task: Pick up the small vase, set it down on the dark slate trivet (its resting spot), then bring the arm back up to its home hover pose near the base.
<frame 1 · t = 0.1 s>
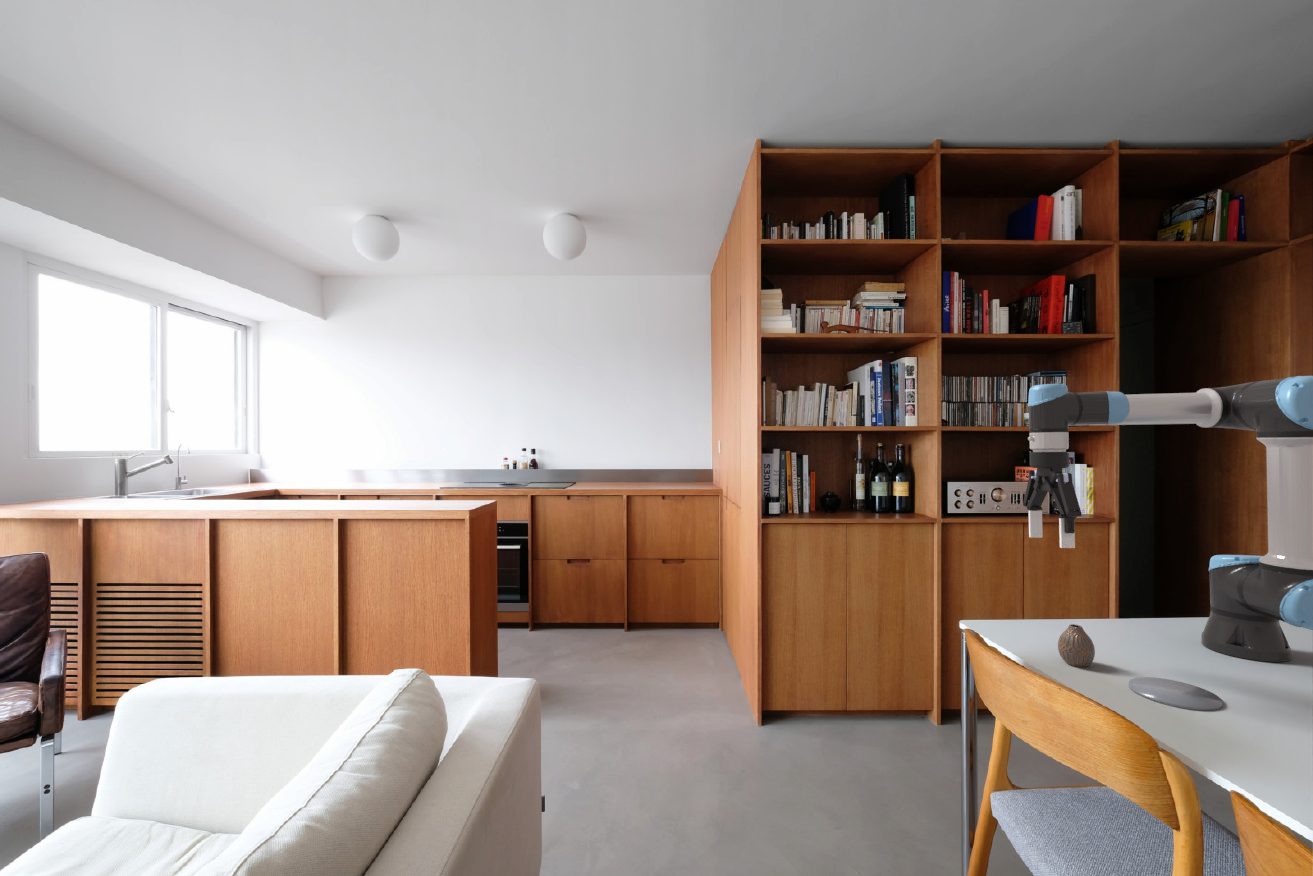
hand: (1050, 542, 132), 28 cm above the table, fingers open, 13 cm apart
trivet: (1173, 694, 115), on the table
vase: (1076, 664, 132), on the table
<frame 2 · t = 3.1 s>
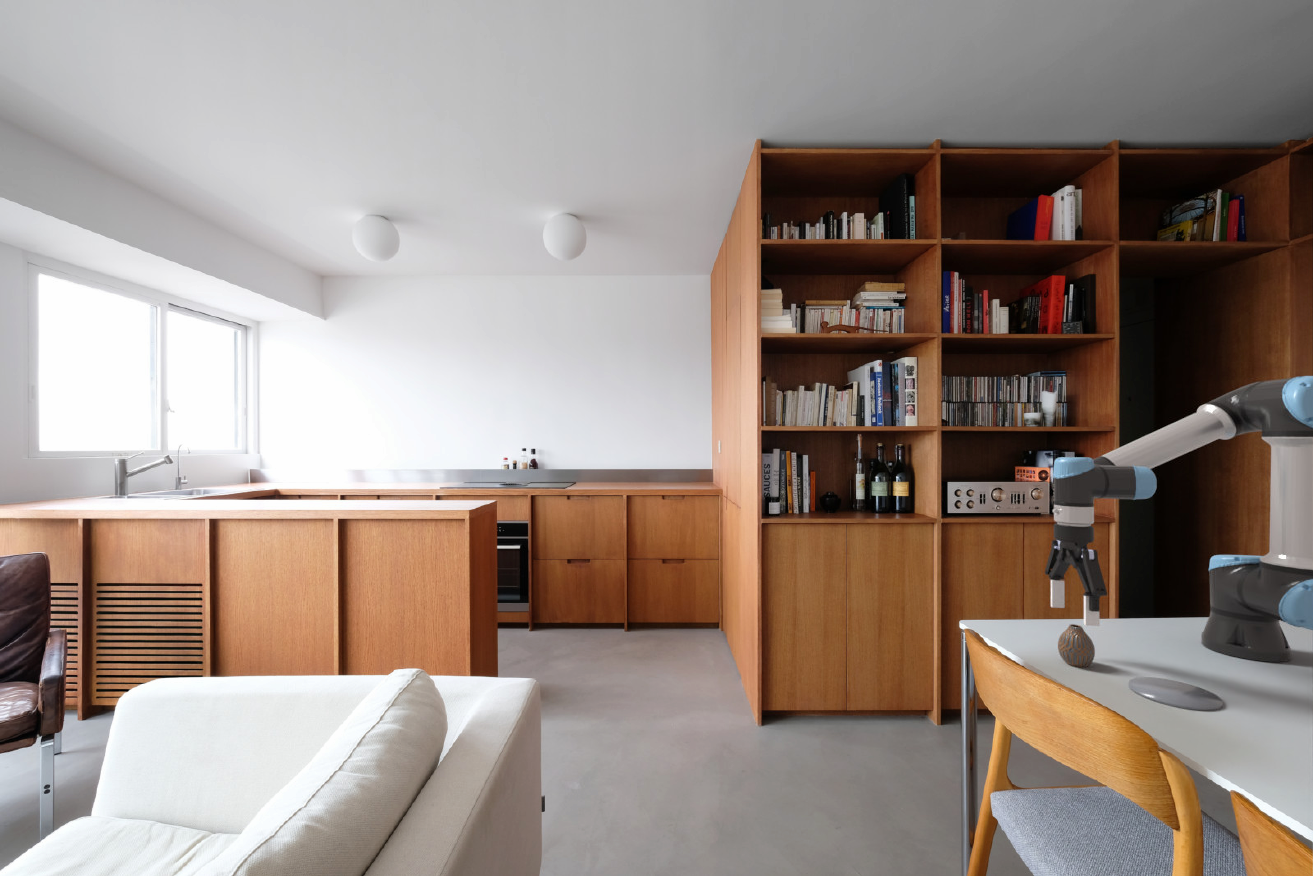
hand: (1073, 616, 132), 11 cm above the table, fingers open, 13 cm apart
nothing on the table moved.
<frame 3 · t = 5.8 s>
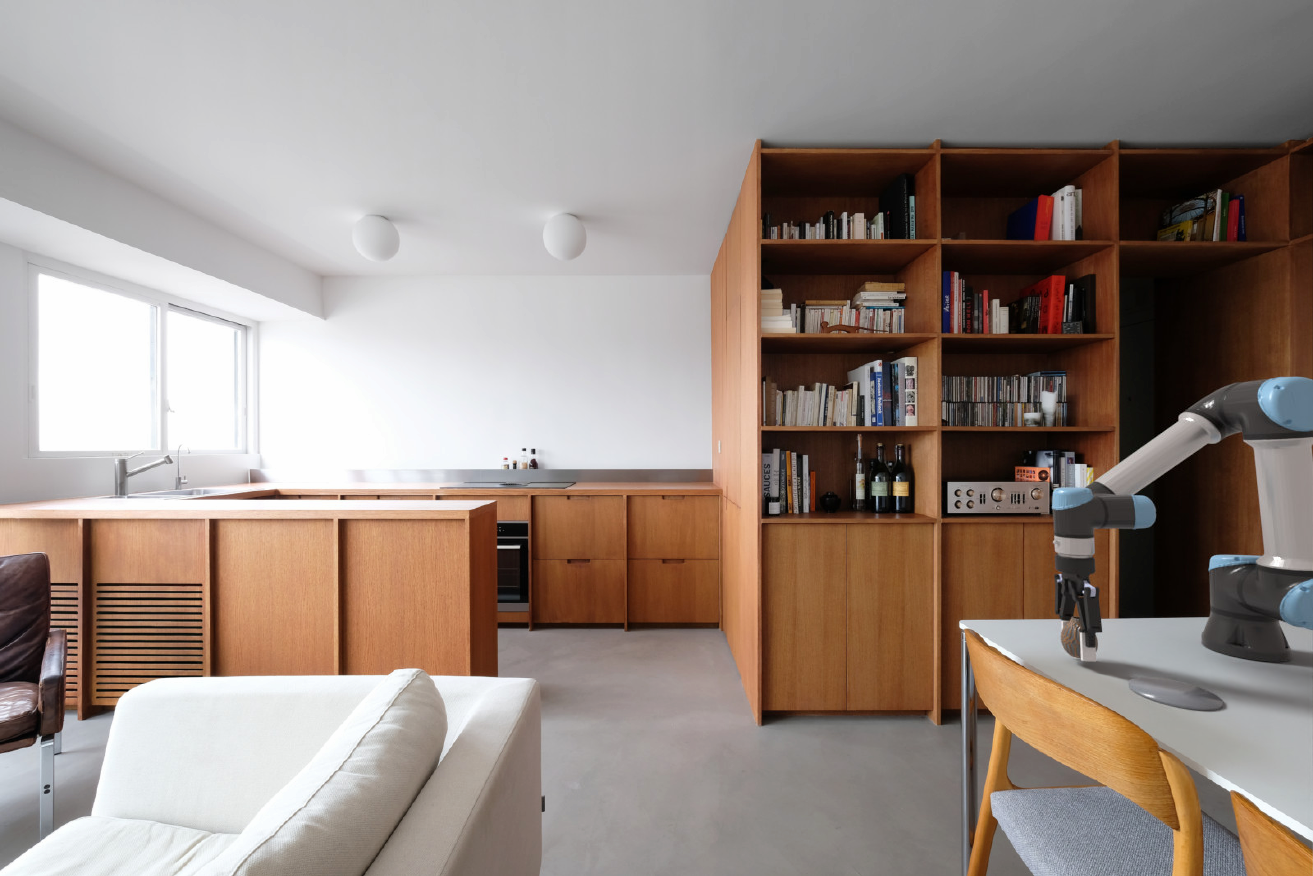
hand: (1078, 654, 132), 2 cm above the table, fingers closed on vase, 7 cm apart
vase: (1079, 656, 132), point 2 cm above the table, touching gripper
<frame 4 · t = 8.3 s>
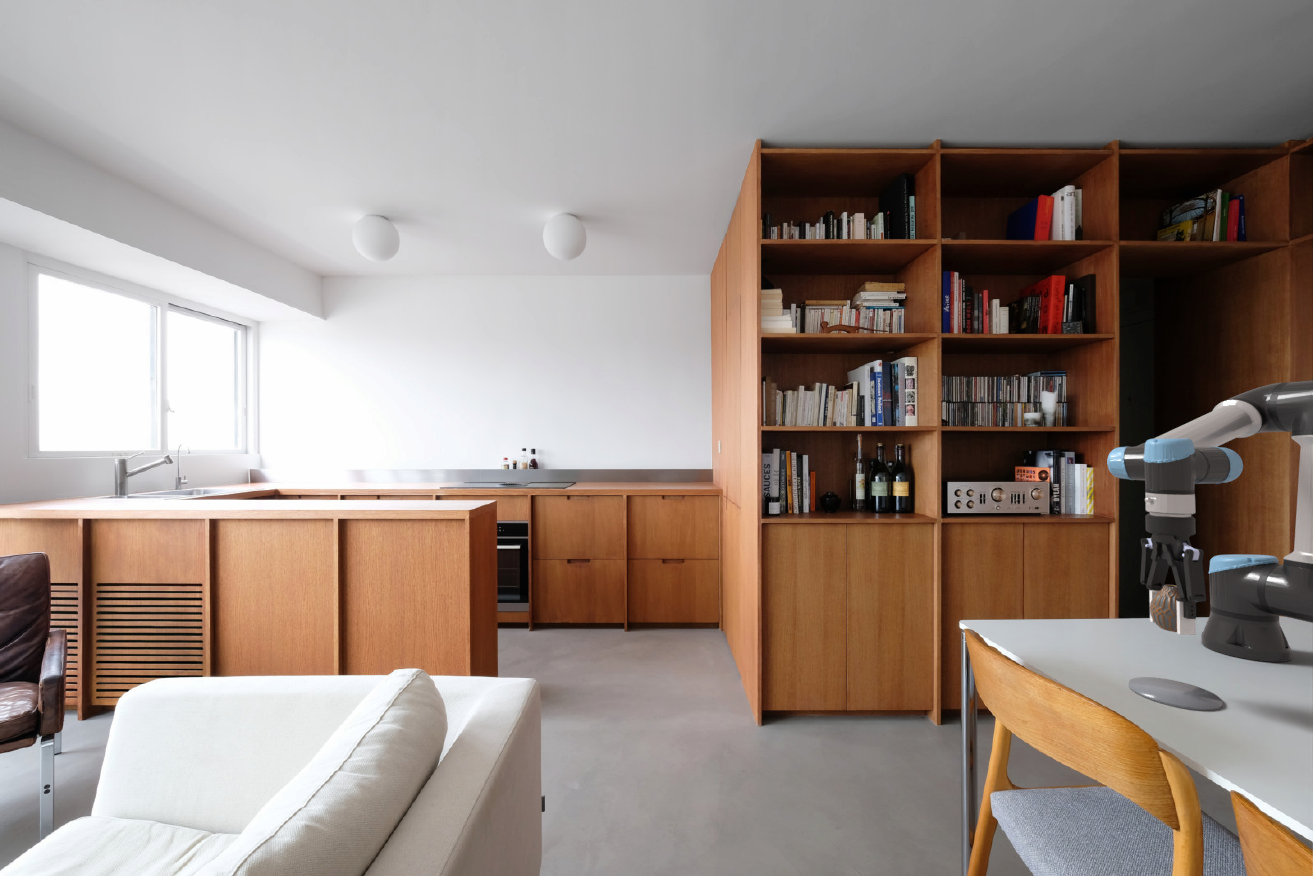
hand: (1172, 627, 116), 13 cm above the table, fingers closed on vase, 7 cm apart
vase: (1173, 630, 116), point 13 cm above the table, touching gripper
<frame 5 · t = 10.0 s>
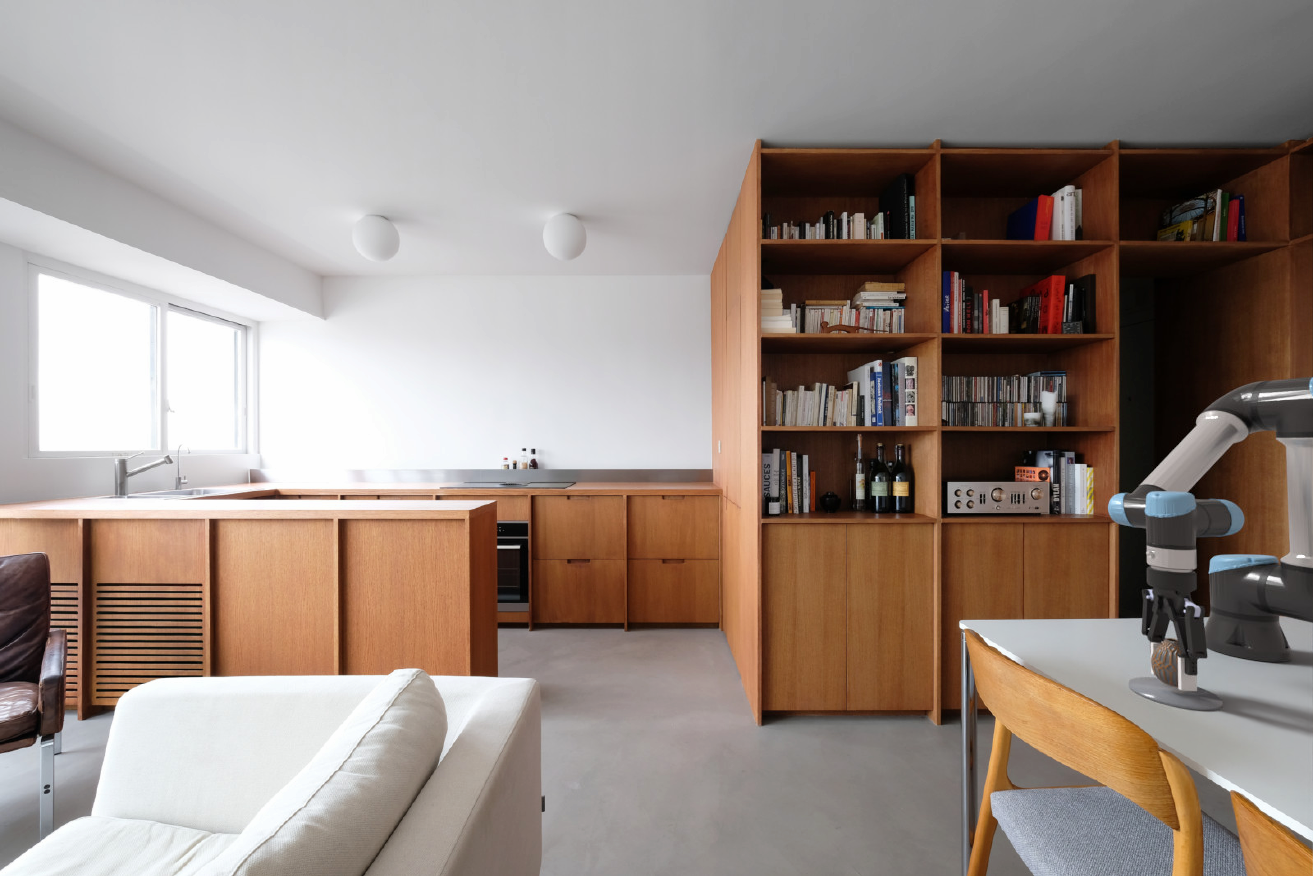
hand: (1173, 681, 115), 3 cm above the table, fingers closed on vase, 7 cm apart
vase: (1174, 684, 115), point 2 cm above the table, touching gripper
when the fingers open (2 cm above the table, at t = 11.0 s): vase stays where it is, resting on trivet.
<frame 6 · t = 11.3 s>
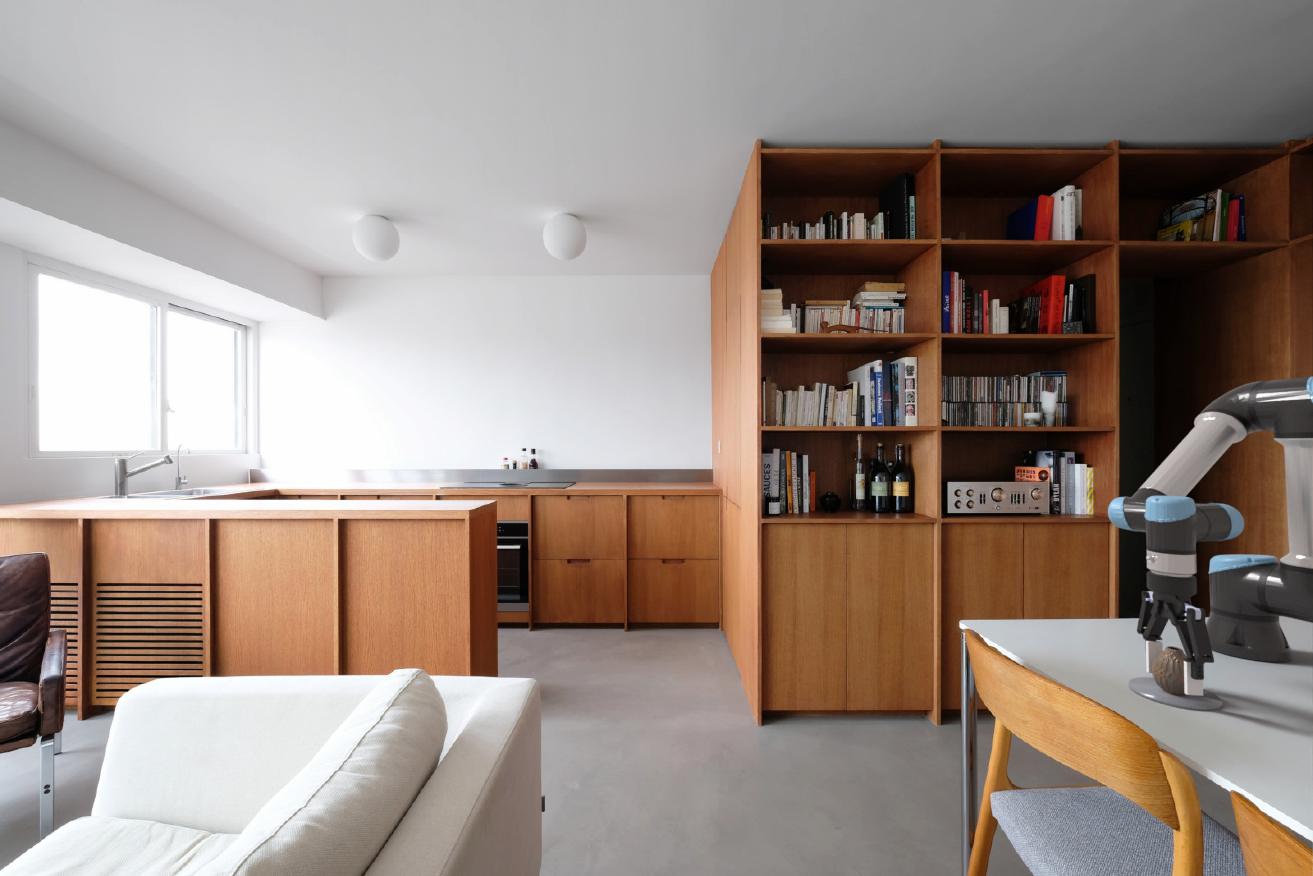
hand: (1173, 683, 115), 2 cm above the table, fingers open, 10 cm apart
vase: (1175, 692, 115), resting on trivet
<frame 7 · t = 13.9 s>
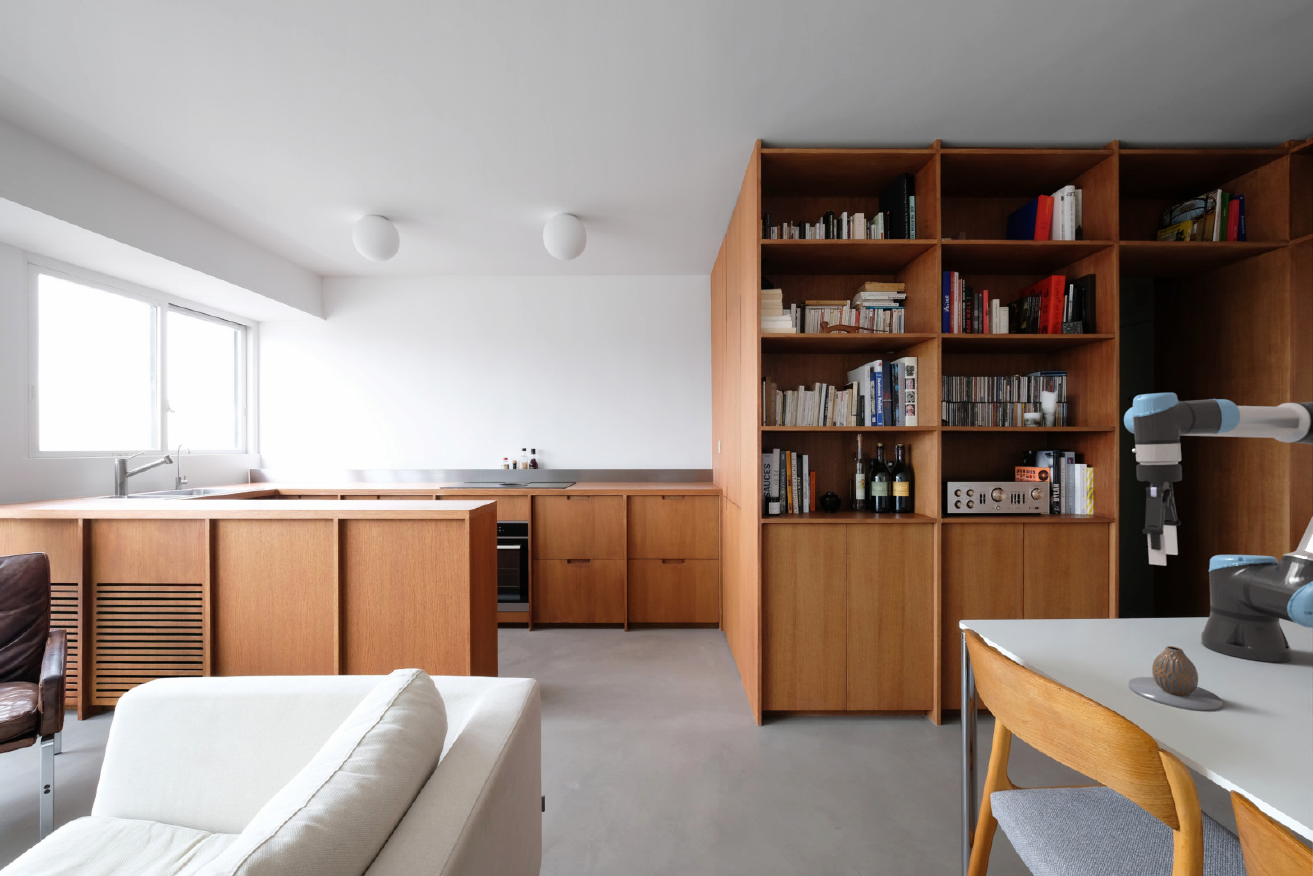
hand: (1163, 559, 126), 25 cm above the table, fingers open, 13 cm apart
nothing on the table moved.
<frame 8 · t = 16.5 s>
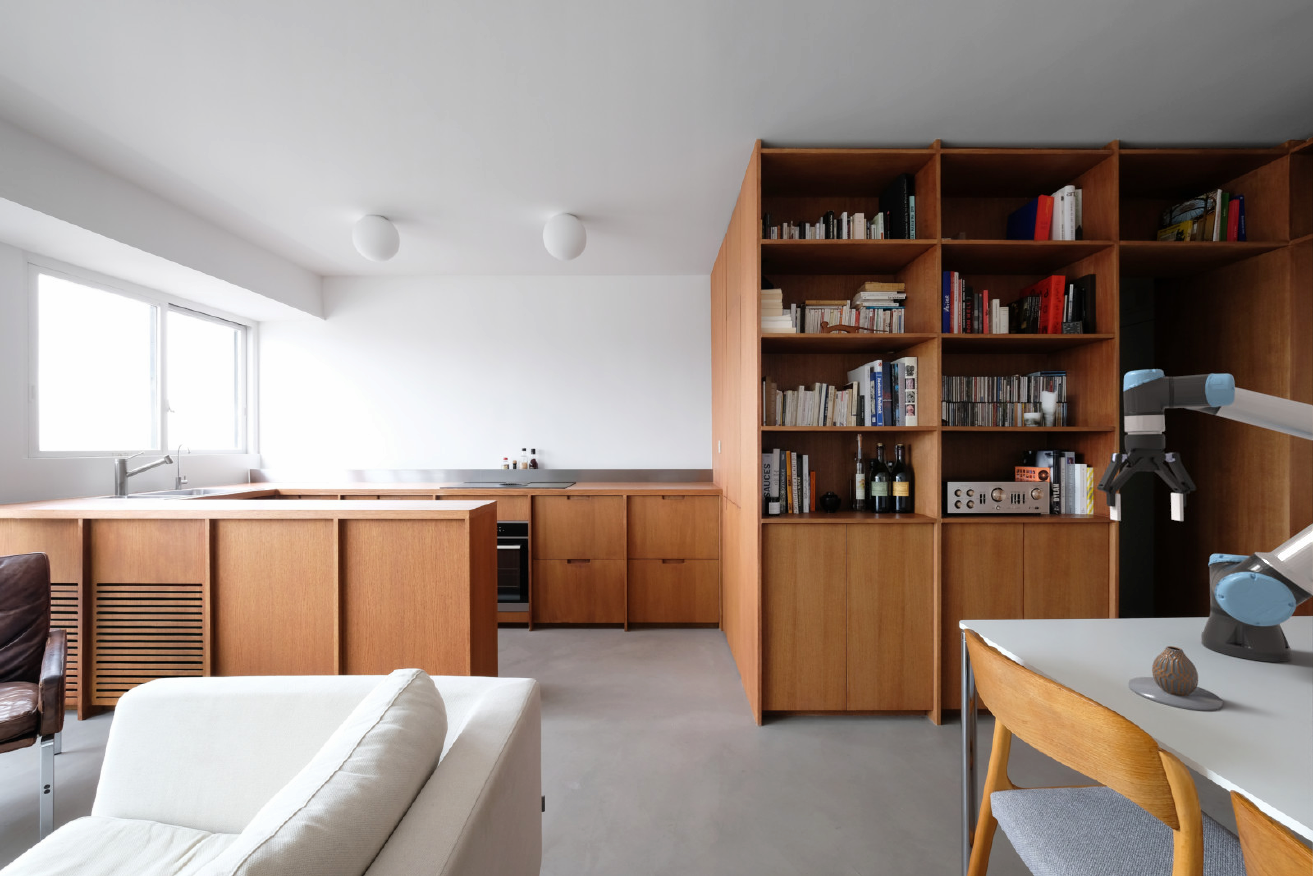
hand: (1146, 520, 140), 32 cm above the table, fingers open, 13 cm apart
nothing on the table moved.
at the end: vase 0.2 cm from the trivet (horizontally); vase tilted 0°; the gripper is holding nothing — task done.
